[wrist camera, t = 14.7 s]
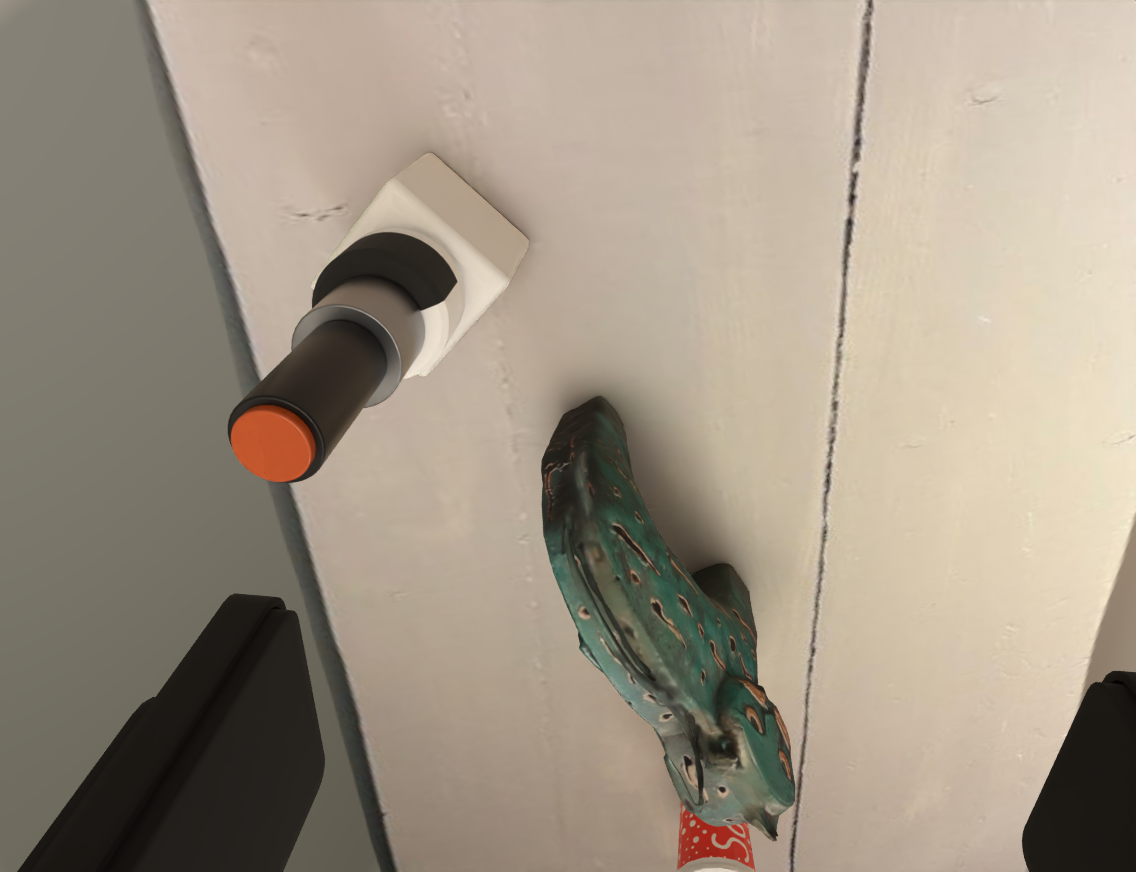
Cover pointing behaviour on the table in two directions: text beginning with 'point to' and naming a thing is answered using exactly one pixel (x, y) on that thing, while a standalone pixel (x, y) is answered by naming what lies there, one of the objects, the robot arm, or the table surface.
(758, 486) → the table surface
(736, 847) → the beverage cup
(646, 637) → the ceramic cat
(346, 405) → the torch
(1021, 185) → the table surface
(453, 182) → the medicine bottle
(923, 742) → the table surface
